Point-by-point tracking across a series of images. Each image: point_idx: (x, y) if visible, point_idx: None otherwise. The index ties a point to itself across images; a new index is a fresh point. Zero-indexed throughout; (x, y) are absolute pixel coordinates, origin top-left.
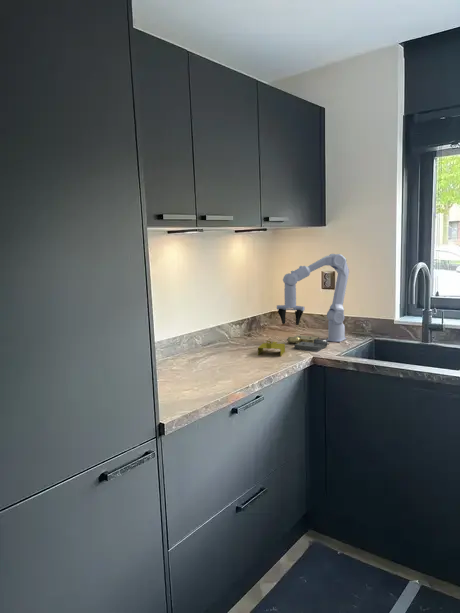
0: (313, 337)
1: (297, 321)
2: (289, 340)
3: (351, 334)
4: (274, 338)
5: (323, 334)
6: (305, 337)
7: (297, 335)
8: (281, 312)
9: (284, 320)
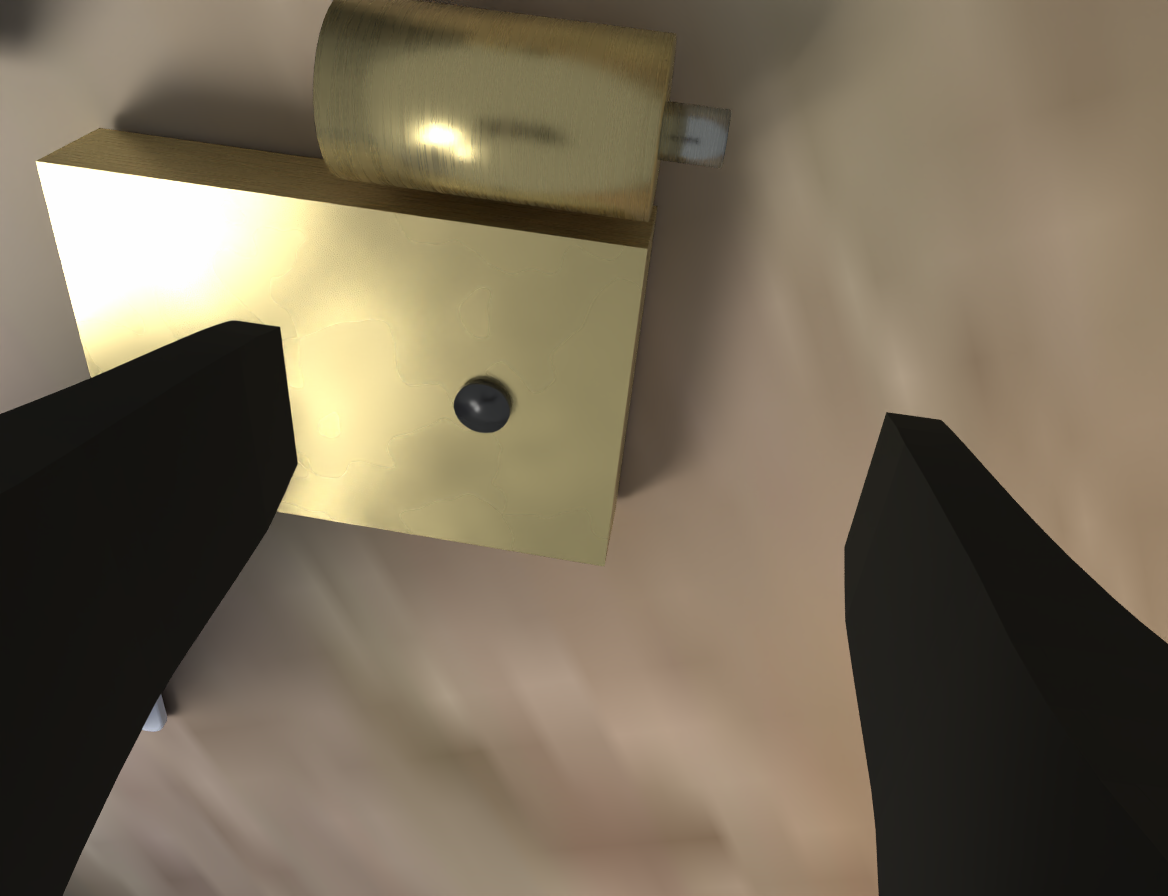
0: None
1: (111, 373)
2: (610, 25)
3: (86, 884)
4: (1158, 508)
5: (390, 860)
6: (336, 389)
7: (593, 536)
8: (1155, 833)
9: (875, 594)
